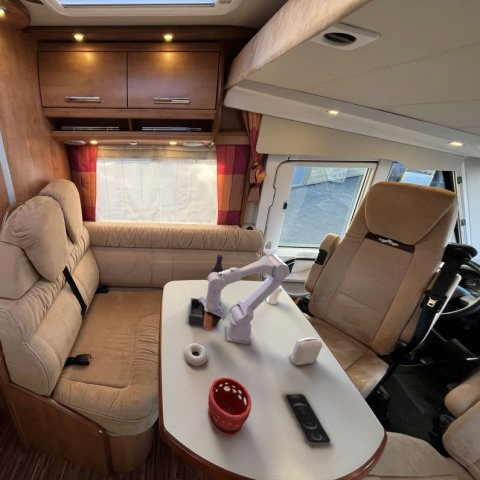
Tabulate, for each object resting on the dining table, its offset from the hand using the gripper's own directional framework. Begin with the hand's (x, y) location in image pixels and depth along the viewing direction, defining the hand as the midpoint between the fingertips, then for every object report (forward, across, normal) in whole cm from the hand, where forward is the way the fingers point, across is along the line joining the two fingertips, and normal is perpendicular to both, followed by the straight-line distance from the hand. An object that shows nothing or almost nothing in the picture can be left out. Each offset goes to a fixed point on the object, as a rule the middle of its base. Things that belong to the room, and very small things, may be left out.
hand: (209, 322), depth 107 cm
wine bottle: (+10, -16, +21) cm, 28 cm away
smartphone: (+10, +44, +3) cm, 45 cm away
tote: (+9, -11, +8) cm, 17 cm away
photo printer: (+10, +32, +25) cm, 41 cm away
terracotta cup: (+2, 0, 0) cm, 2 cm away
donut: (+10, +5, -12) cm, 16 cm away
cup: (+10, +3, +49) cm, 50 cm away
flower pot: (+10, +28, -20) cm, 35 cm away
